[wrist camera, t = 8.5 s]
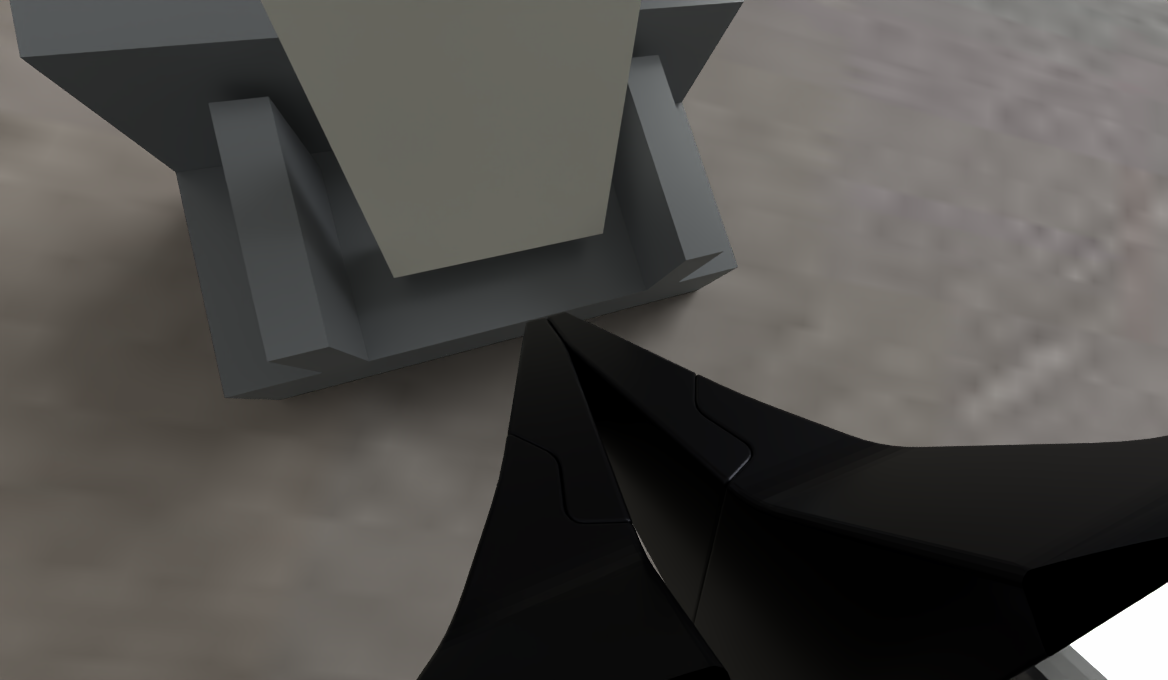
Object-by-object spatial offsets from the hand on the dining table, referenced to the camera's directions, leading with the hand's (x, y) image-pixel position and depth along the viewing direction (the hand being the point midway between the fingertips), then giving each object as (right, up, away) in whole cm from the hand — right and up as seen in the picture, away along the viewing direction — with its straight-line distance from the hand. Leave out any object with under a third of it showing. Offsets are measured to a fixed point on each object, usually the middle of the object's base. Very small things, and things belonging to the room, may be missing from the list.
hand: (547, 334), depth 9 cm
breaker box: (-3, +4, +8) cm, 9 cm away
